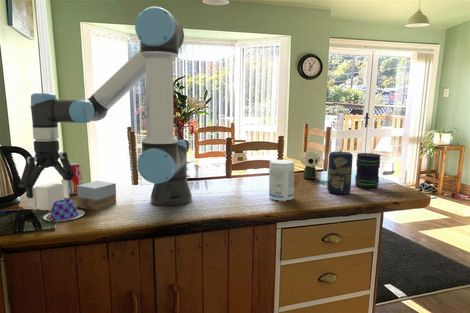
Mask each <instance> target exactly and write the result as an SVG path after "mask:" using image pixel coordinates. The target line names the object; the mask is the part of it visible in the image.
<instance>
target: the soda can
mask: <svg viewBox="0 0 470 313" xmlns="http://www.w3.org/2000/svg"><path fill="white" fill-rule="evenodd" d="M69 163H70V165H71V168H72V170H73V172H74V174H75V176H74V177H72V180H70V188H69V195H76V194H77V185H81V184H83V170H82V166H81V164H80V162H69ZM62 167H63V166H62ZM63 168H64V167H63ZM64 170H65V169H64ZM62 180H64V179H63V178H62Z"/></svg>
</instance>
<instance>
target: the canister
mask: <svg viewBox="0 0 470 313" xmlns="http://www.w3.org/2000/svg"><path fill="white" fill-rule="evenodd" d="M353 159H354V158H353V153H351V152H347V151H343V150H341V149H340V150H339V151H331V152H329V153H328V165H327V166H328V167H327V177H326V178H327V179H326V181H327V182H326V190H327V192H329V193H333V194H337V195H339V194H340V195H345V194H349V193H350V192H351V186H352V174H353Z"/></svg>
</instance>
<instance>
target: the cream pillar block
mask: <svg viewBox="0 0 470 313" xmlns="http://www.w3.org/2000/svg"><path fill="white" fill-rule="evenodd" d="M34 186H35V187H34V188H36V200H37V207H36V210H41V211H45V210H49V211H48V212H51V211H50V210H52V206H53V203H54V202H55V201H59V200H65V198H64V191H63V184H62V183H55V182H48V183H43V184H39V185H34Z"/></svg>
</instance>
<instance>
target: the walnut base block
mask: <svg viewBox="0 0 470 313" xmlns="http://www.w3.org/2000/svg"><path fill="white" fill-rule="evenodd" d="M76 201H77V208H81V209H87V210H92V211H96V212H97V211H100V210H103V209H106V208H108V207H111V206H114V205H117V193H116V194H115V195H112V196H108V197H105V198H102V199H98V200H92V199H87V198H82V197H78V196H77V200H76Z"/></svg>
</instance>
